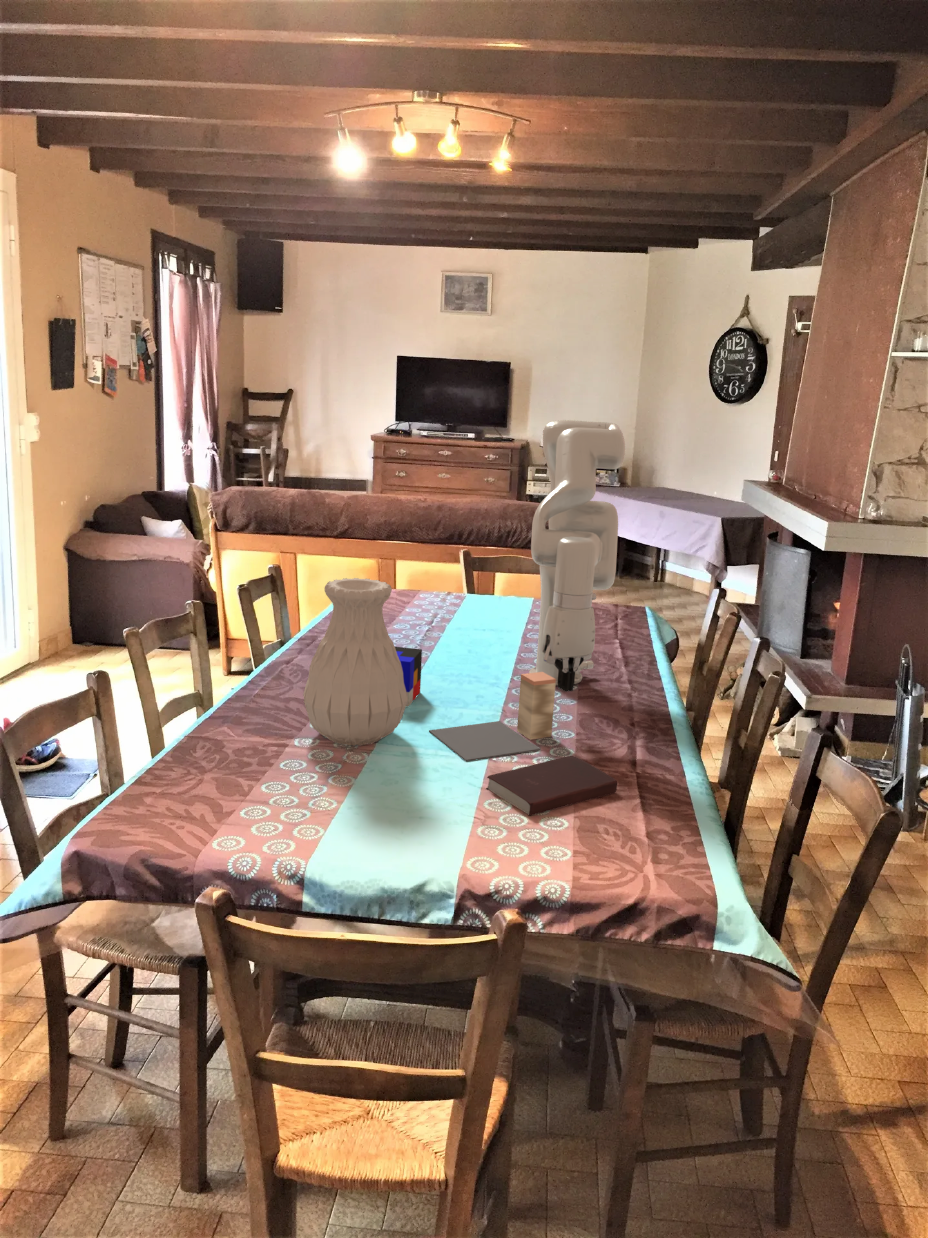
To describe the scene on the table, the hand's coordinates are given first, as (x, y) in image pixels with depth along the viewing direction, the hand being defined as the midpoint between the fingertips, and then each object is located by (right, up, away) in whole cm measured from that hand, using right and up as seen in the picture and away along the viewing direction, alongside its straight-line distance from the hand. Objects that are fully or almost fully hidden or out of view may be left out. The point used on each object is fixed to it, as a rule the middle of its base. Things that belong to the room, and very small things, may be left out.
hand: (565, 689), depth 195 cm
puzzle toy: (-36, -3, +17) cm, 40 cm away
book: (-5, -16, -27) cm, 32 cm away
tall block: (-6, -9, -1) cm, 11 cm away
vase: (-42, -9, -7) cm, 43 cm away
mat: (-17, -10, -6) cm, 20 cm away
